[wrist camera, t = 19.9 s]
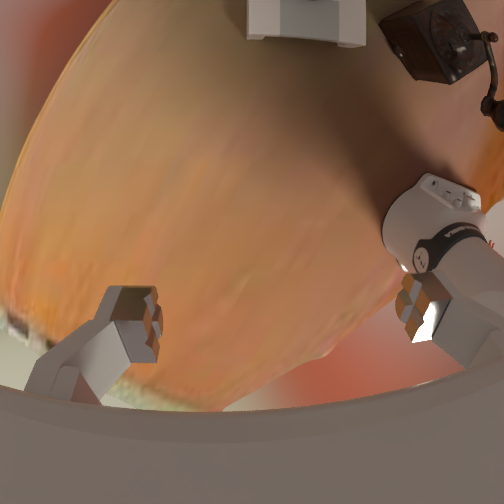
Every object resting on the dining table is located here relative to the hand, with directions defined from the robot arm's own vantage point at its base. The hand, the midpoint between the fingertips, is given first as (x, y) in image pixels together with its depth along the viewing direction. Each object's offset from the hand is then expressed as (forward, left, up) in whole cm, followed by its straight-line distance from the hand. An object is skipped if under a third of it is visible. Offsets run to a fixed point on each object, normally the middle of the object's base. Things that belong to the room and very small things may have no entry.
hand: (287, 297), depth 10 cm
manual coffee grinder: (-27, -14, -34) cm, 46 cm away
